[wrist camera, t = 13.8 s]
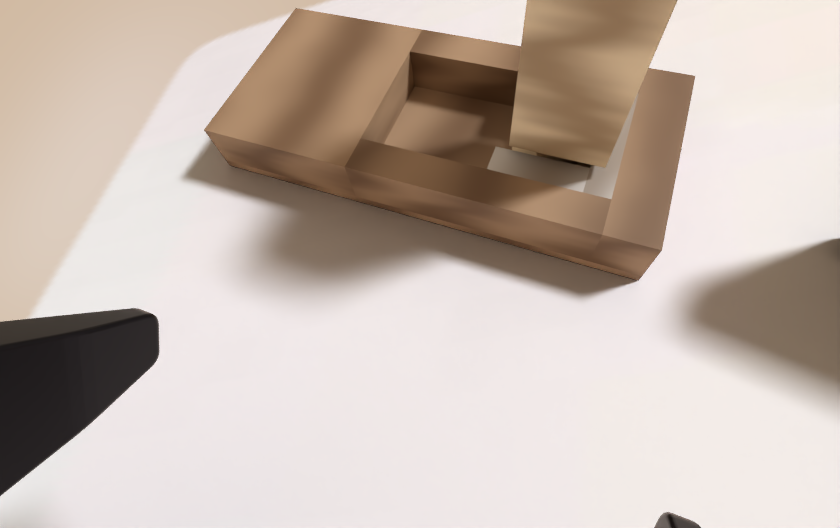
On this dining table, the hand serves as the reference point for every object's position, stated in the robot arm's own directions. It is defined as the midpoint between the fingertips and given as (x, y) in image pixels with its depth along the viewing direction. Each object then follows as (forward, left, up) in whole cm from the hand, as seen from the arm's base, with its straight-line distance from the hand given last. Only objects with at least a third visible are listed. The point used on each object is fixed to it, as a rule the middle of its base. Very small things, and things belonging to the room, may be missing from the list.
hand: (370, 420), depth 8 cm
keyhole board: (+3, +18, -14) cm, 22 cm away
